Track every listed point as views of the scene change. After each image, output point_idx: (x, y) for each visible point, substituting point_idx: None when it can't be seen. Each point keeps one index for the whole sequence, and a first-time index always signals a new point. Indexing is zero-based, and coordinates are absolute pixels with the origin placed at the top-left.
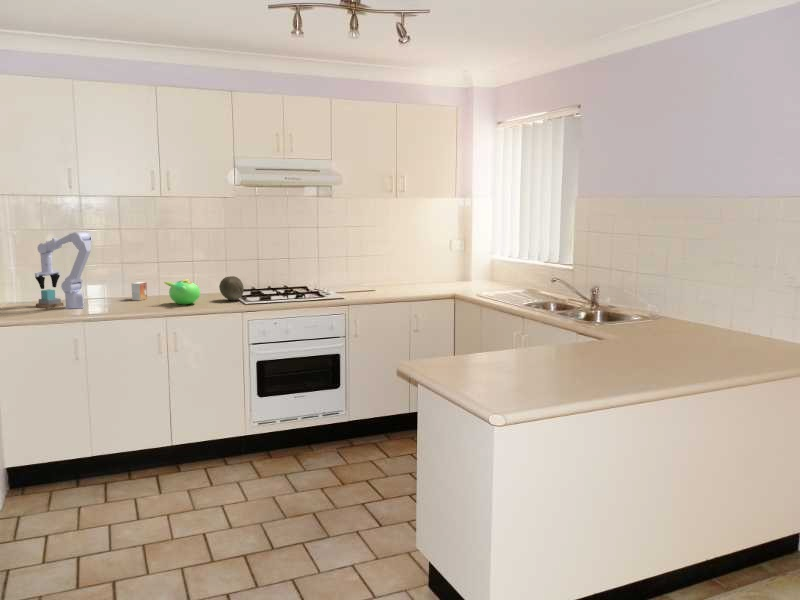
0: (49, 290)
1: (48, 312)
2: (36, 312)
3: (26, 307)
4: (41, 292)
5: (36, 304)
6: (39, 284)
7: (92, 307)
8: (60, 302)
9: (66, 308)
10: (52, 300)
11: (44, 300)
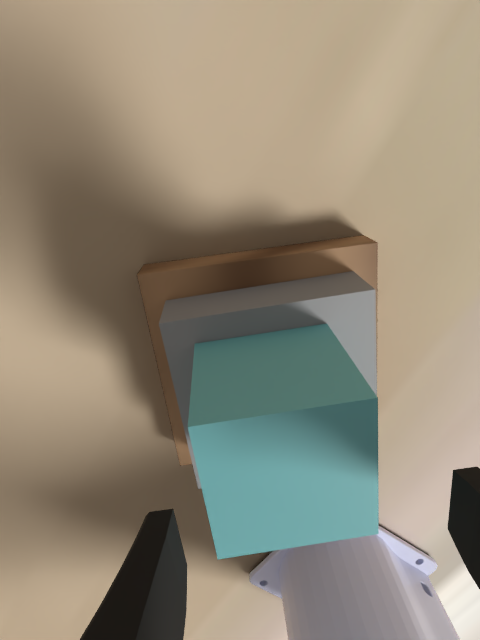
0: (287, 527)
1: (80, 608)
2: (4, 554)
3: (38, 220)
4: (191, 410)
5: (141, 285)
6: (101, 614)
7: None
8: None
9: (258, 584)
10: None
11: (184, 427)
